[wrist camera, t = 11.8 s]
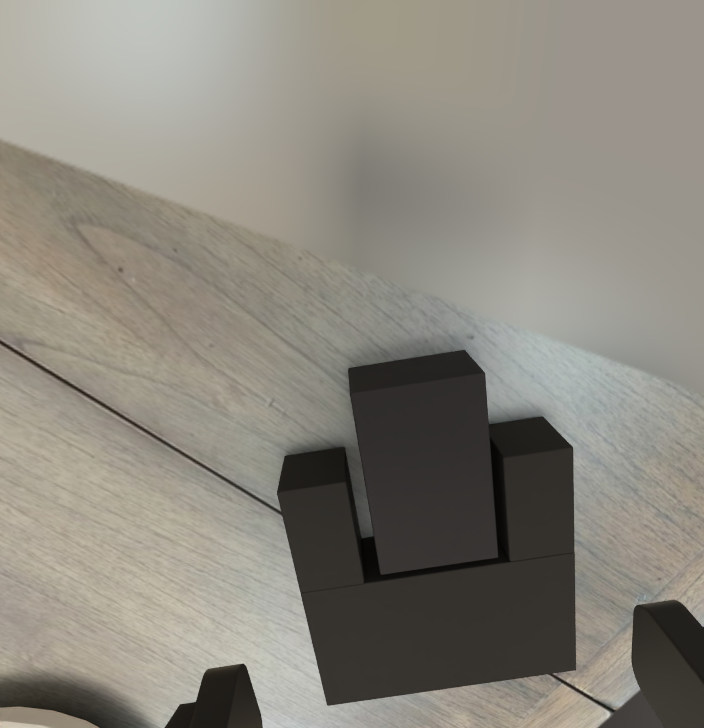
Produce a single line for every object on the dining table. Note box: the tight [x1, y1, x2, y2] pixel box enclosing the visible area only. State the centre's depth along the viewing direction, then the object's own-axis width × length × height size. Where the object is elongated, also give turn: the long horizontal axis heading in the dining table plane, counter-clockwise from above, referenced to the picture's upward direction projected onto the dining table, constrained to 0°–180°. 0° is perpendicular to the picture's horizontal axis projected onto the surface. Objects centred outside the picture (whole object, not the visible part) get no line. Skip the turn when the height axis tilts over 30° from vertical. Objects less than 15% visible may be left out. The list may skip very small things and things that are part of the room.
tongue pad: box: [348, 350, 498, 575], centre depth 24 cm, size 10×6×4 cm, turn 9°
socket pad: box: [277, 417, 576, 706], centre depth 26 cm, size 14×14×4 cm
